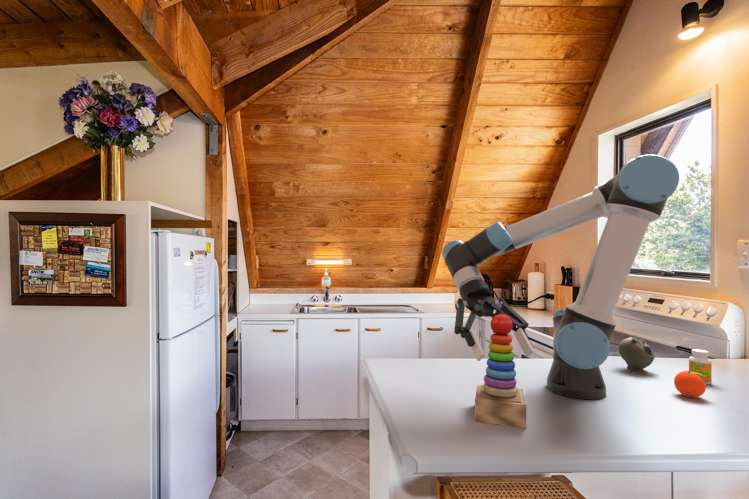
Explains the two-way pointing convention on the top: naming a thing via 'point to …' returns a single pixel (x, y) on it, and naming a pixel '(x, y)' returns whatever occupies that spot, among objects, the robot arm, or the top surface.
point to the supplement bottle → (701, 364)
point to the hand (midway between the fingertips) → (506, 355)
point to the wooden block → (500, 408)
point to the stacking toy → (500, 360)
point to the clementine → (690, 384)
